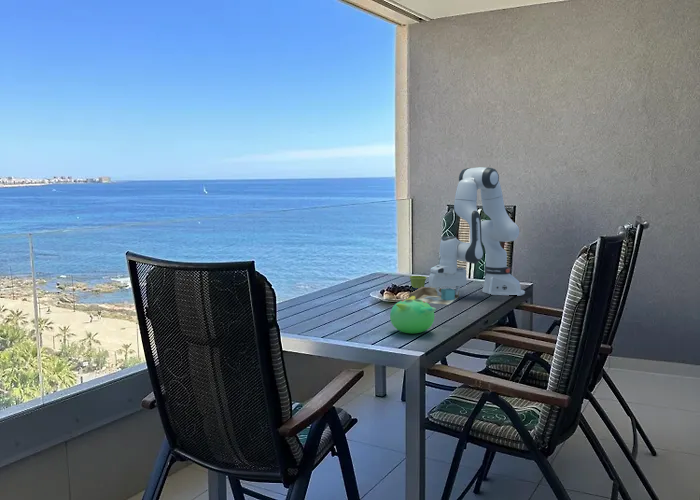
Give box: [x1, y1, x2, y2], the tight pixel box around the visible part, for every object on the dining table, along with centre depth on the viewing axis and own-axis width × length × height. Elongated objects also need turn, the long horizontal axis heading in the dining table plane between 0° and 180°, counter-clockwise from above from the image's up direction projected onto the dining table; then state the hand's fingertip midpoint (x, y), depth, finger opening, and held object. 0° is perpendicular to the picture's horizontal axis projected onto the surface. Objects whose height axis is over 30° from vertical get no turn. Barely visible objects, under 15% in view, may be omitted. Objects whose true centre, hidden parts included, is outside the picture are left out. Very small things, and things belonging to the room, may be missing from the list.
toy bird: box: [389, 296, 437, 334], centre depth 258 cm, size 18×17×15 cm
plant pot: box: [409, 275, 427, 289], centre depth 345 cm, size 9×9×9 cm
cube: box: [441, 287, 455, 301], centre depth 323 cm, size 5×5×5 cm
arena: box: [408, 286, 460, 306], centre depth 323 cm, size 20×20×5 cm
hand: (447, 295), depth 323 cm, fingers open, 8 cm apart
